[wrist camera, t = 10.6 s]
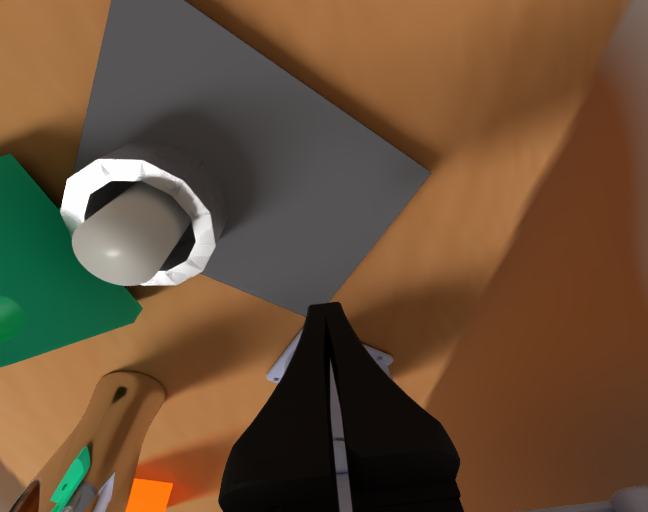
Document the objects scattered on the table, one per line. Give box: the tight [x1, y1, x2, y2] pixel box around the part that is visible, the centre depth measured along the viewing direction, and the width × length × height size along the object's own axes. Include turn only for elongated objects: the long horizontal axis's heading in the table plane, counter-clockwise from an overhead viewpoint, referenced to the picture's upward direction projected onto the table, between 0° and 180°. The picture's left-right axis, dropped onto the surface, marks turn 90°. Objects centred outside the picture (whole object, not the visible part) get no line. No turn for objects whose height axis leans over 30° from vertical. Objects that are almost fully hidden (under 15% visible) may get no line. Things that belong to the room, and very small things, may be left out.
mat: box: [73, 0, 431, 317], centre depth 19 cm, size 18×14×1 cm
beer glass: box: [9, 371, 166, 512], centre depth 23 cm, size 7×7×15 cm
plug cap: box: [72, 181, 192, 286], centre depth 16 cm, size 4×4×6 cm
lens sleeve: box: [60, 142, 228, 285], centre depth 17 cm, size 7×7×4 cm
